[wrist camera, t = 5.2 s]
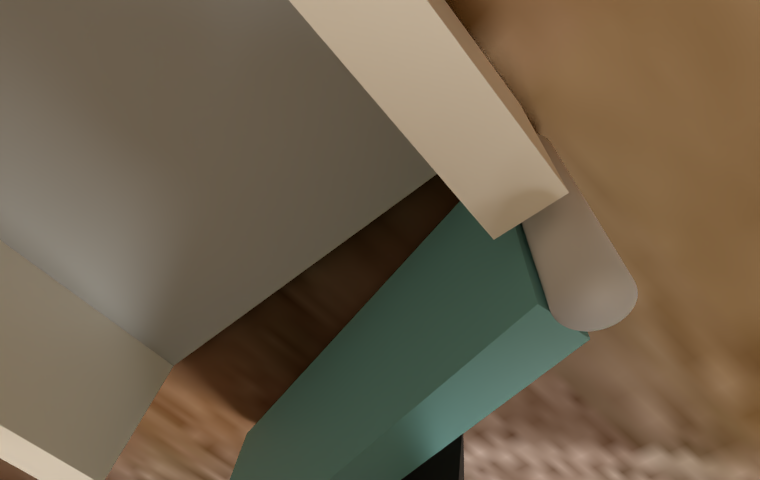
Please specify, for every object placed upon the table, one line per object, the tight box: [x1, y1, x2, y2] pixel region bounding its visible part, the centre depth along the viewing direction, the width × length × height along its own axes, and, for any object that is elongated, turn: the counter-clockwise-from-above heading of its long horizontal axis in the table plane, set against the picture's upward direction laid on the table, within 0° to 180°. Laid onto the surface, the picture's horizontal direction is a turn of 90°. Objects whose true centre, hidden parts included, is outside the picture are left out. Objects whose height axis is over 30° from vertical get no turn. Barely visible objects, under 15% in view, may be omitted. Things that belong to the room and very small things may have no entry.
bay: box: [0, 0, 569, 480], centre depth 7 cm, size 11×11×4 cm
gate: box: [230, 134, 638, 480], centre depth 9 cm, size 11×1×4 cm, turn 145°
